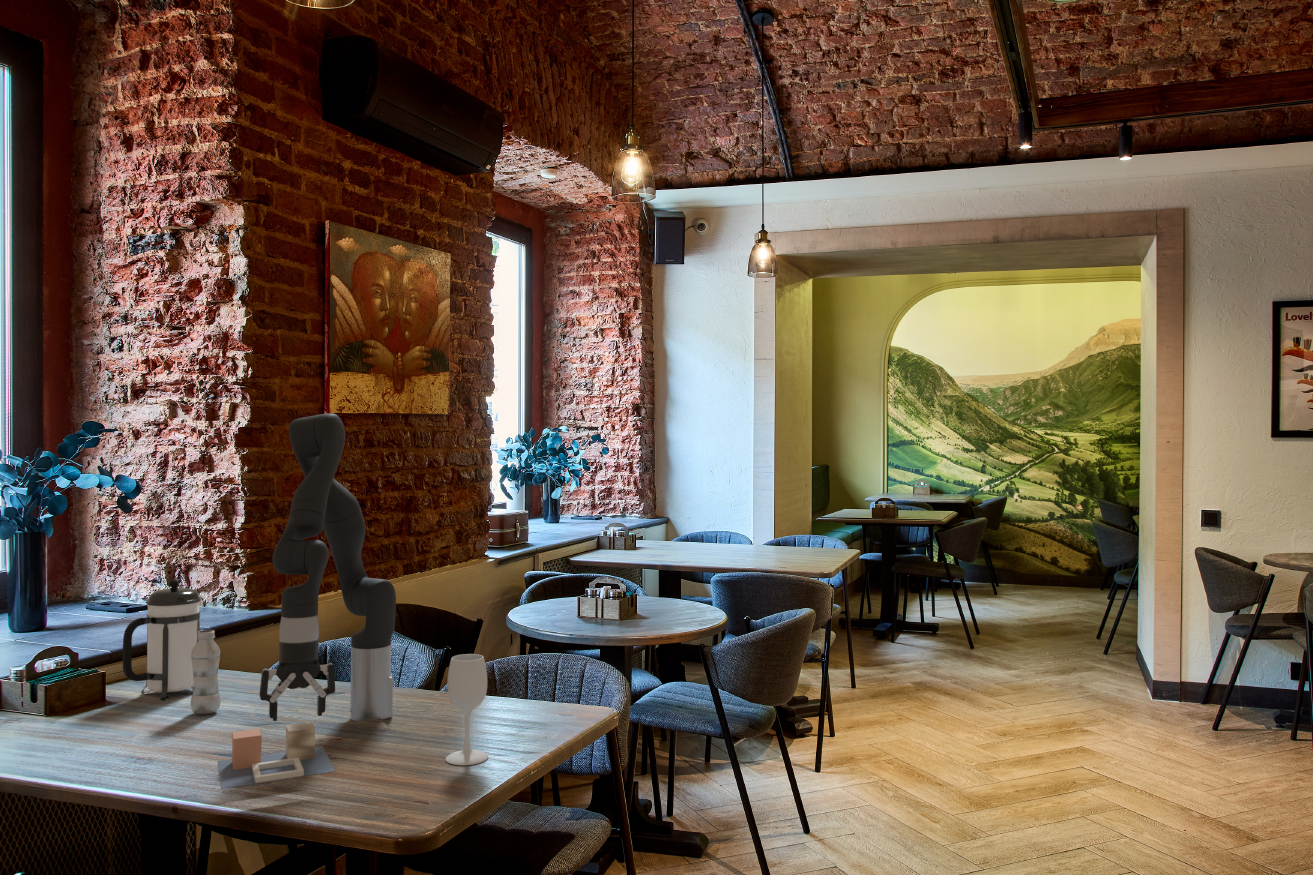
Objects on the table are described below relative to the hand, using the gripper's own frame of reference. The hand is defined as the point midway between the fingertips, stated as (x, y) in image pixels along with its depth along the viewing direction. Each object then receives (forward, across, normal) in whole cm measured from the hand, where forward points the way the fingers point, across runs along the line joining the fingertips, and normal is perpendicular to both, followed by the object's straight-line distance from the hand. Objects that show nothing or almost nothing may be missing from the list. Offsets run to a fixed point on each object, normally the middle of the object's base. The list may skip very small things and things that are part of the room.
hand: (297, 717), depth 184 cm
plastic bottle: (+9, +16, -49) cm, 52 cm away
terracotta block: (+8, +9, 0) cm, 12 cm away
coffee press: (+9, +24, -73) cm, 77 cm away
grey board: (+10, +4, +4) cm, 11 cm away
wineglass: (+9, -32, +13) cm, 36 cm away
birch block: (+8, -1, 0) cm, 8 cm away
